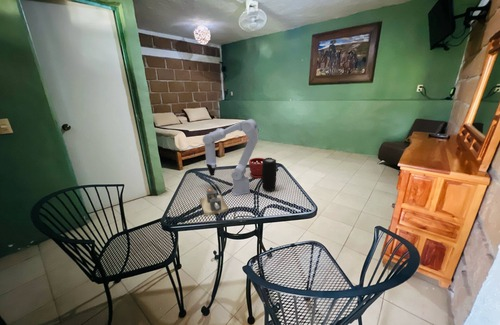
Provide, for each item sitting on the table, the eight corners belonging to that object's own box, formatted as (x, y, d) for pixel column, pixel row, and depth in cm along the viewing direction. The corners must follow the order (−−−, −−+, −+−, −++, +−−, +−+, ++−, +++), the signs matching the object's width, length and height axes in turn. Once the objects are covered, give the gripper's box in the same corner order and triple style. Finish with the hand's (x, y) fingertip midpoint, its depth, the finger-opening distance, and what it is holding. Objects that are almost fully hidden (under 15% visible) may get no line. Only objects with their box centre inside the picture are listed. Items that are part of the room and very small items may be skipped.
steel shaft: (213, 194, 115) (213, 188, 114) (221, 210, 99) (221, 202, 98) (206, 195, 114) (206, 189, 112) (213, 211, 98) (213, 204, 96)
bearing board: (221, 197, 117) (220, 186, 115) (228, 210, 103) (228, 199, 101) (200, 201, 113) (198, 190, 111) (205, 216, 99) (203, 204, 97)
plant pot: (245, 175, 148) (245, 160, 144) (258, 171, 156) (258, 156, 152) (258, 181, 138) (258, 164, 135) (271, 175, 147) (271, 160, 143)
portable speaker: (262, 193, 121) (262, 162, 115) (261, 186, 130) (261, 157, 124) (276, 192, 121) (277, 161, 115) (274, 186, 130) (275, 157, 124)
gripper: (201, 151, 125) (203, 172, 129) (205, 158, 112) (207, 180, 116) (213, 150, 127) (214, 170, 132) (218, 156, 114) (219, 178, 119)
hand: (212, 175), depth 124 cm, fingers closed
